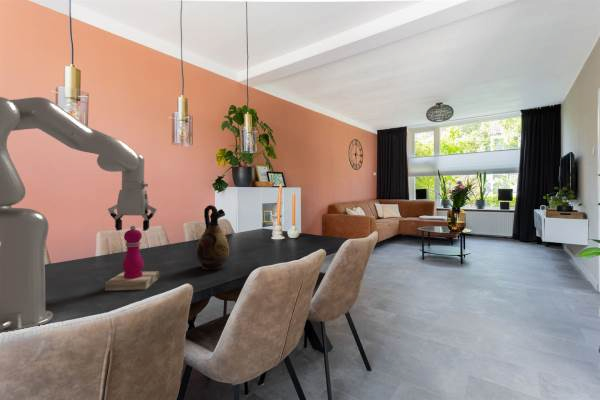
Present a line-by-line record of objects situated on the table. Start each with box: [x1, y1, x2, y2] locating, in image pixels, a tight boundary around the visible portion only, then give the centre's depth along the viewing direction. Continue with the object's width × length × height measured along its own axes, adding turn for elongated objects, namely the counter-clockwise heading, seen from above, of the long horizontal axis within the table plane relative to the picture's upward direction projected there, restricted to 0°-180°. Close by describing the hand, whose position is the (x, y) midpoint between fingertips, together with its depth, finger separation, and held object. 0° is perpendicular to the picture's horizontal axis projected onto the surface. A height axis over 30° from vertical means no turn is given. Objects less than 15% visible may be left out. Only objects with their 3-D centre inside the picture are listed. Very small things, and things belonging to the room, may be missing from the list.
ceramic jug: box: [195, 204, 230, 271], centre depth 139 cm, size 17×15×30 cm
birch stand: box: [104, 270, 160, 292], centre depth 114 cm, size 14×14×3 cm
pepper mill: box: [122, 225, 145, 279], centre depth 113 cm, size 7×7×20 cm
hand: (132, 230), depth 112 cm, fingers open, 9 cm apart
